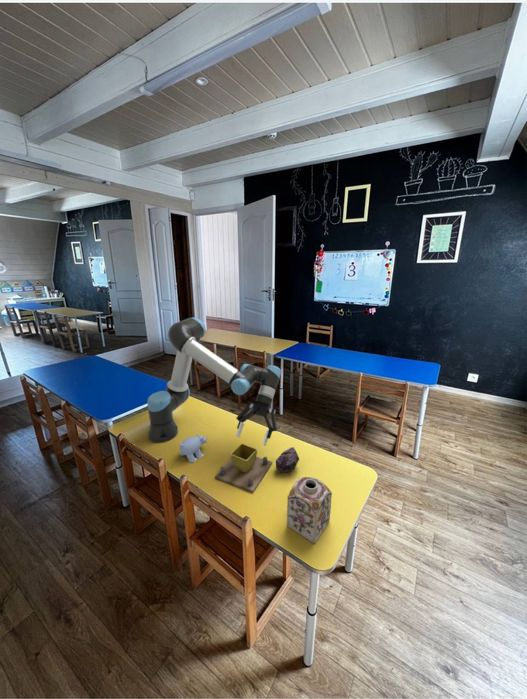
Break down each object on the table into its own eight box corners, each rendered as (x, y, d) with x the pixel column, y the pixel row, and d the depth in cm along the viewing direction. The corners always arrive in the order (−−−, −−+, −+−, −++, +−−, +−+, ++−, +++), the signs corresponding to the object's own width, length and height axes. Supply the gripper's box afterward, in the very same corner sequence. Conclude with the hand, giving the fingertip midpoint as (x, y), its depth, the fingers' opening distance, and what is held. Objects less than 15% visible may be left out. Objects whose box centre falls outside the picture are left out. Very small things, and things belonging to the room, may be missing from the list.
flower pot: (247, 478, 121) (246, 460, 118) (230, 470, 126) (229, 453, 123) (257, 465, 128) (257, 449, 126) (242, 459, 133) (241, 443, 130)
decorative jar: (330, 521, 103) (334, 481, 97) (315, 545, 94) (318, 503, 88) (302, 504, 110) (303, 466, 104) (285, 525, 101) (286, 485, 95)
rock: (273, 470, 129) (291, 481, 122) (271, 456, 125) (289, 466, 119) (288, 454, 136) (306, 464, 130) (287, 441, 133) (304, 449, 126)
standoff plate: (214, 478, 123) (214, 470, 122) (237, 452, 139) (237, 445, 138) (253, 493, 115) (252, 484, 114) (272, 463, 131) (272, 456, 130)
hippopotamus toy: (212, 450, 141) (211, 433, 138) (187, 466, 130) (185, 449, 127) (199, 441, 148) (198, 426, 145) (174, 456, 137) (172, 439, 134)
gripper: (291, 404, 132) (278, 450, 124) (245, 394, 143) (230, 435, 135) (287, 399, 126) (273, 447, 118) (239, 388, 137) (223, 431, 129)
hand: (250, 440), depth 127 cm, fingers open, 13 cm apart
